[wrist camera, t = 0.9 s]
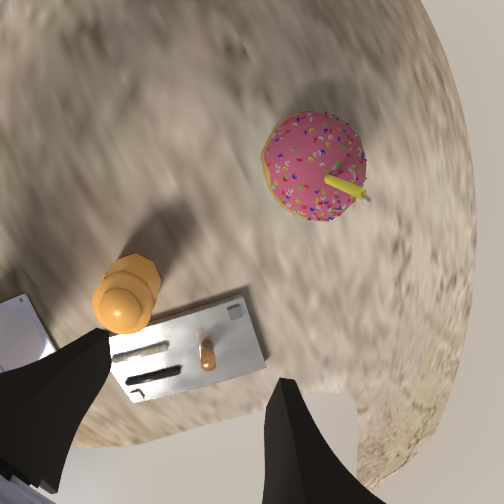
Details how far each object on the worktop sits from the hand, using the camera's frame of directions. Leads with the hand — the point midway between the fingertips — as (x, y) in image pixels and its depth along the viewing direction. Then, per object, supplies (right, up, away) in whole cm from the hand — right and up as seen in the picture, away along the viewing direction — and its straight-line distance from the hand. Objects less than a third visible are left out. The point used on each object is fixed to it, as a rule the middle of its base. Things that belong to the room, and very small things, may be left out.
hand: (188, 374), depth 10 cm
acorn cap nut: (-8, +2, +14) cm, 16 cm away
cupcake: (+7, +13, +14) cm, 20 cm away
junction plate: (-5, -6, +17) cm, 18 cm away
